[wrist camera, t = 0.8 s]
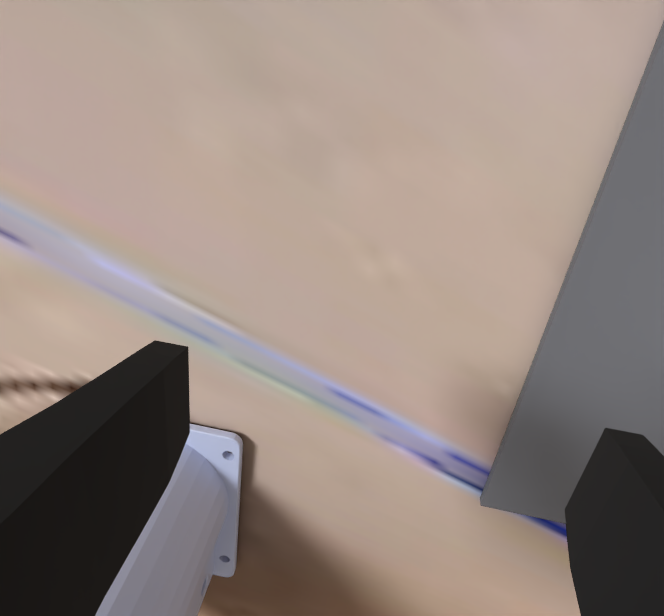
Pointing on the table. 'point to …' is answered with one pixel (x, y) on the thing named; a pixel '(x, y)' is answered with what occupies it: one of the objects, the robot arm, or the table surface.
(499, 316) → the table surface
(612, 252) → the mat
